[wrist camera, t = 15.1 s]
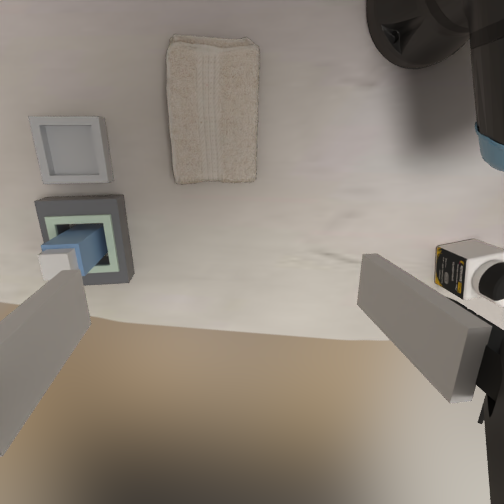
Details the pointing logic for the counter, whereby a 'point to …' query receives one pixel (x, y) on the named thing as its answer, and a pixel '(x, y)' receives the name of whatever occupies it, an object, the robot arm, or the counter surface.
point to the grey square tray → (72, 149)
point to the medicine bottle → (471, 270)
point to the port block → (92, 211)
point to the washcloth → (213, 108)
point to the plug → (73, 250)
